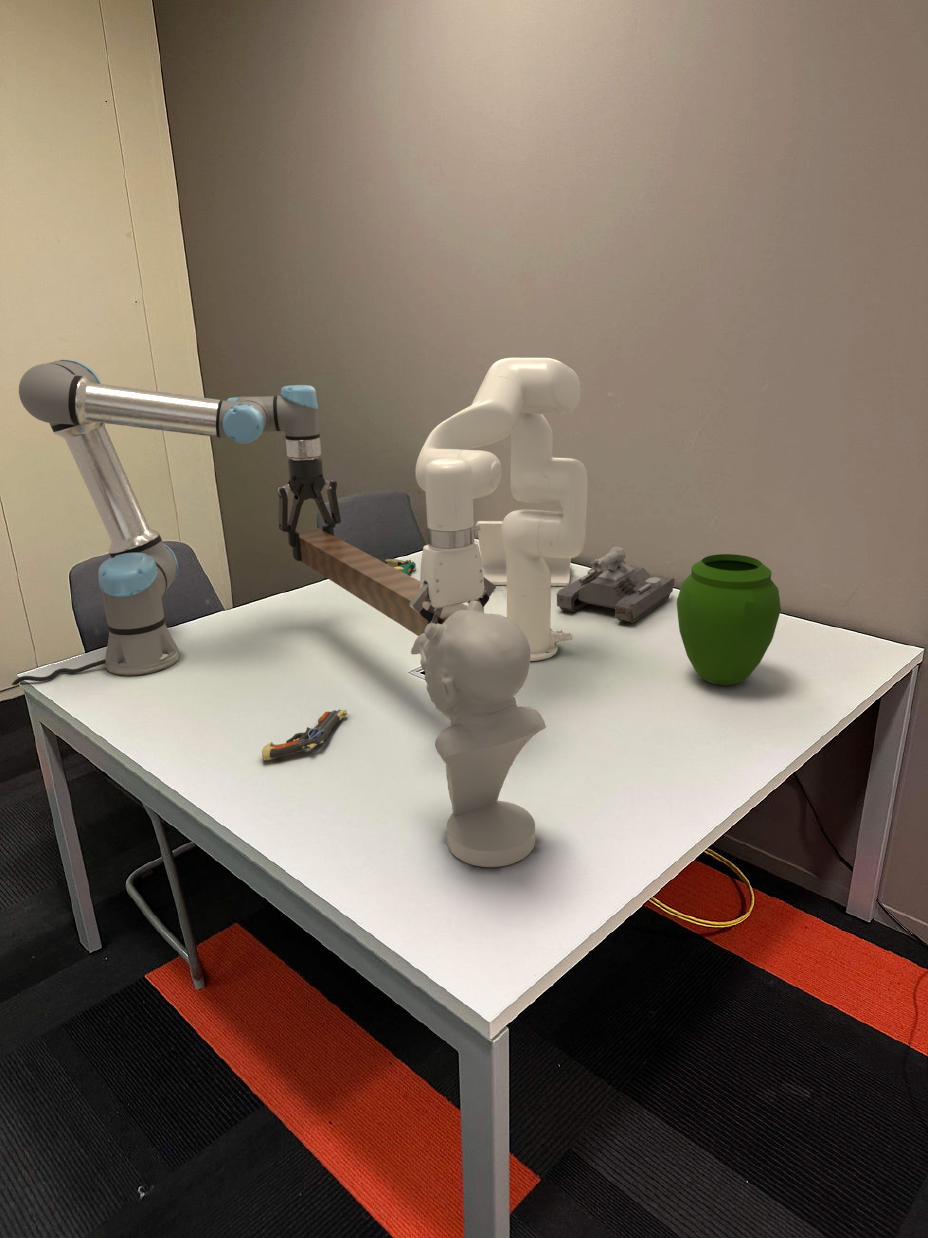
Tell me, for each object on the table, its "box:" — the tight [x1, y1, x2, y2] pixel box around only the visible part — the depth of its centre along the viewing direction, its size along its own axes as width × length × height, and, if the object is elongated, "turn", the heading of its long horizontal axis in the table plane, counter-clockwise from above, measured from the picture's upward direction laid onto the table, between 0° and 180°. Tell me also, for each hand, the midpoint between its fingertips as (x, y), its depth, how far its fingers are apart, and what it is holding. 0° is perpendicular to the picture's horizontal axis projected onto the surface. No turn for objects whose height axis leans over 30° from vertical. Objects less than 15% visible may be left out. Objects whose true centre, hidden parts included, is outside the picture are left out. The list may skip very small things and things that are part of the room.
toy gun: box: [261, 708, 348, 761], centre depth 153 cm, size 3×19×10 cm
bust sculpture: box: [410, 600, 547, 868], centre depth 121 cm, size 16×24×35 cm
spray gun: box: [379, 558, 417, 576], centre depth 242 cm, size 4×17×15 cm
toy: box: [556, 546, 676, 624], centre depth 212 cm, size 25×20×15 cm
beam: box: [291, 527, 468, 637], centre depth 170 cm, size 74×7×6 cm, turn 31°
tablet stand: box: [476, 520, 572, 587], centre depth 236 cm, size 18×25×17 cm
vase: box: [676, 553, 782, 686], centre depth 168 cm, size 20×20×24 cm
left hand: (313, 556), depth 198 cm, fingers closed on beam, 7 cm apart
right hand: (455, 637), depth 145 cm, fingers closed on beam, 6 cm apart
